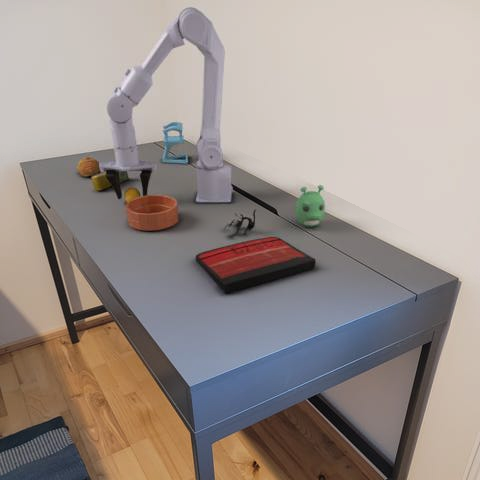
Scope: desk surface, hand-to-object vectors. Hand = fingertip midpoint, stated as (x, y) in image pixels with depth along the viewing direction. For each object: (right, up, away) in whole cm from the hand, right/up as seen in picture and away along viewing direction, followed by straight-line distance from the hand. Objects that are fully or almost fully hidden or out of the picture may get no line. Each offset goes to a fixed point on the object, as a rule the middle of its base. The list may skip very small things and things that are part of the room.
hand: (132, 197), depth 129 cm
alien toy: (+46, -10, -12) cm, 49 cm away
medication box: (-9, +7, +12) cm, 16 cm away
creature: (+29, -12, -15) cm, 34 cm away
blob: (0, -1, +1) cm, 1 cm away
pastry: (-18, +14, +20) cm, 31 cm away
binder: (+32, -21, -28) cm, 47 cm away
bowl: (+7, -8, -9) cm, 15 cm away
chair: (+7, +20, +30) cm, 37 cm away
